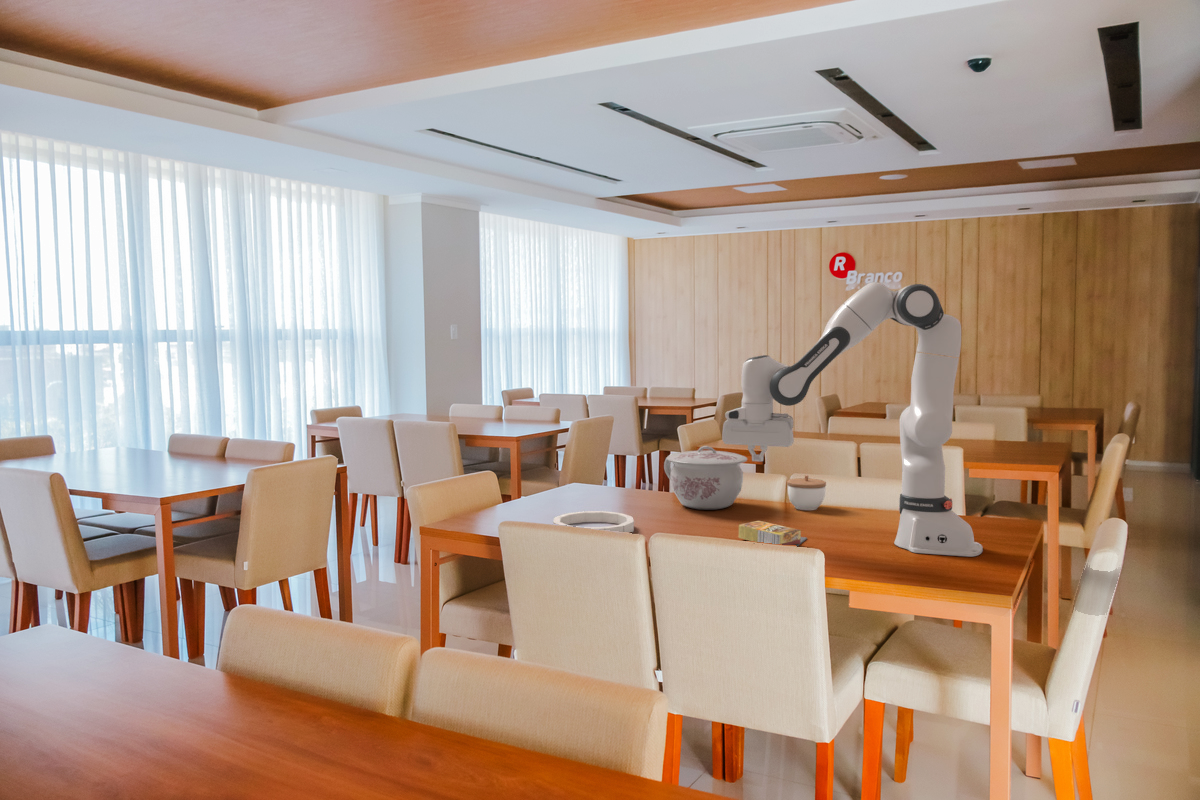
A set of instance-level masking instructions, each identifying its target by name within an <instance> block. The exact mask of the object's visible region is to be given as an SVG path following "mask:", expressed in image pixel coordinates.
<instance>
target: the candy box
mask: <svg viewBox="0 0 1200 800" xmlns="http://www.w3.org/2000/svg"><path fill="white" fill-rule="evenodd" d="M801 531H802V530H801V529H797V528H794V527H788V526H785V525H784V526H783V525H780V524H776V523H771V522H768V521H767V522H766V521H761V520H755V521H750V522H746V523H741V524H738V538H739V539H742V540H746V541H747V540H749V541H755V542H764V543H772V544H782V545H796V544H800V540H801V537H802V536H801V534H802V532H801ZM800 545H801V544H800Z"/></svg>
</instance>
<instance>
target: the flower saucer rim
mask: <svg viewBox="0 0 1200 800" xmlns="http://www.w3.org/2000/svg"><path fill="white" fill-rule="evenodd" d="M552 523H553V524H558V525H567V526H572V525H573V524H582V523H609V524H615V525H607V526H583V527H584V528H591V529H599V530H610V531H619V532H632V533H634V531H635V520H634V518H633V516H631V515H629V514H626V513H622V512H614V511H605V510H597V511H596V510H593V511H592V510H587V511H585V510H584V511H583V510H582V511H575V512H569V513H568V512H567V513H562V514H561V515H558V516H554V518H553V521H552ZM553 524H552V525H553ZM575 526H576V527H580V526H577V525H575Z"/></svg>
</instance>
